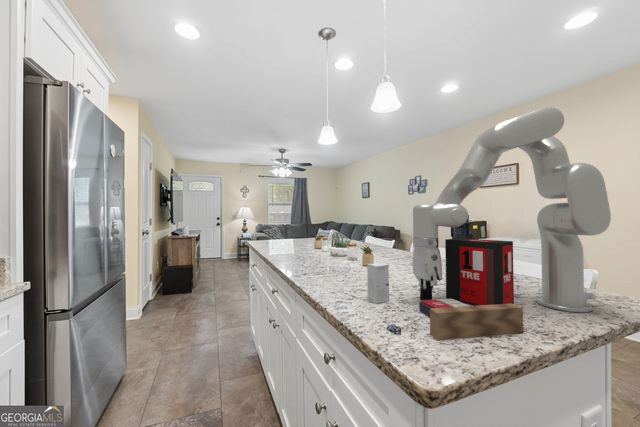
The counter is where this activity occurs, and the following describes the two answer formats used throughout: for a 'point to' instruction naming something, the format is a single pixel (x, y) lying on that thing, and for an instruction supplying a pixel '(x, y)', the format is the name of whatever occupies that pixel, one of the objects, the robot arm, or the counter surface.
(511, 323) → the walnut board
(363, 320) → the counter surface
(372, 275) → the skincare box
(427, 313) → the calculator
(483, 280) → the cleaning product box
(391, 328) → the blueberries
